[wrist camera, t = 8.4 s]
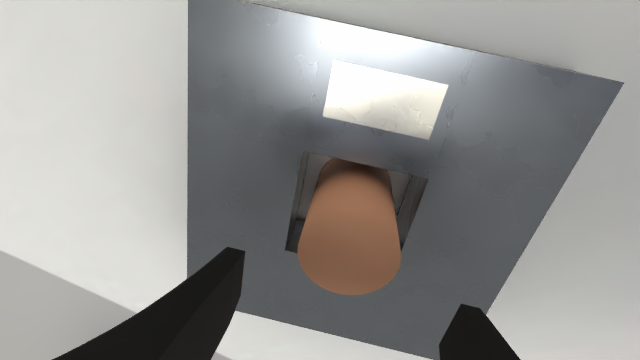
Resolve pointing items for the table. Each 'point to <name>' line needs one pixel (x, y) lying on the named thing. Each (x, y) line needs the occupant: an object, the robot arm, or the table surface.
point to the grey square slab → (373, 160)
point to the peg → (351, 230)
